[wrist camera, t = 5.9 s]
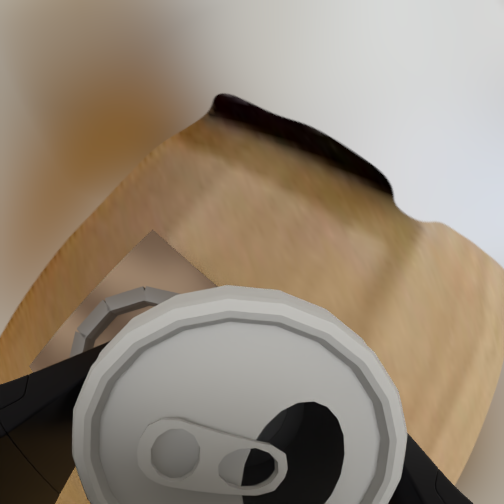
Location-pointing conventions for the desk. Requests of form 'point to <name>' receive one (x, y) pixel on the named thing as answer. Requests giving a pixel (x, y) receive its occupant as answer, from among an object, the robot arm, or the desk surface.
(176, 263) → the collar board
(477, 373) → the desk surface
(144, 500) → the can
